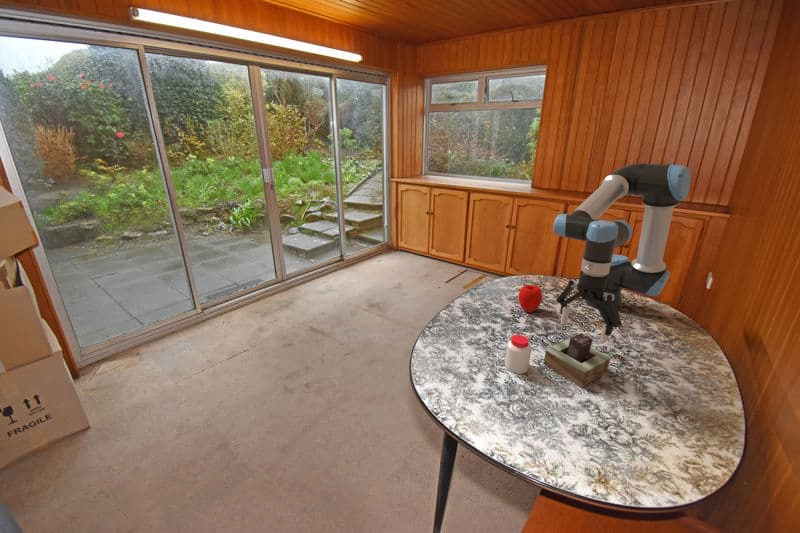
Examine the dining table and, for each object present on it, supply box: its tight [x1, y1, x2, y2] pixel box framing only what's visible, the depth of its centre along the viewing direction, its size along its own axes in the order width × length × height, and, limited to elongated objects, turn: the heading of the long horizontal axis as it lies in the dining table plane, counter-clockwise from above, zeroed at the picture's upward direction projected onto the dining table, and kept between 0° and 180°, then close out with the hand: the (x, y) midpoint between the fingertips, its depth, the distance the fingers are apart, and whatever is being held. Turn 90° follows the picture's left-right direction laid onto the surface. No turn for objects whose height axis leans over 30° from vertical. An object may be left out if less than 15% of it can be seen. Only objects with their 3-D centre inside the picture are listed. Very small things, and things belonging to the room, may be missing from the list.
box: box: [567, 332, 593, 363], centre depth 116 cm, size 6×4×12 cm
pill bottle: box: [504, 334, 532, 375], centre depth 117 cm, size 8×8×11 cm
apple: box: [517, 284, 543, 313], centre depth 154 cm, size 10×10×12 cm
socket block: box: [543, 337, 611, 388], centre depth 117 cm, size 14×14×6 cm
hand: (582, 332), depth 113 cm, fingers open, 13 cm apart
